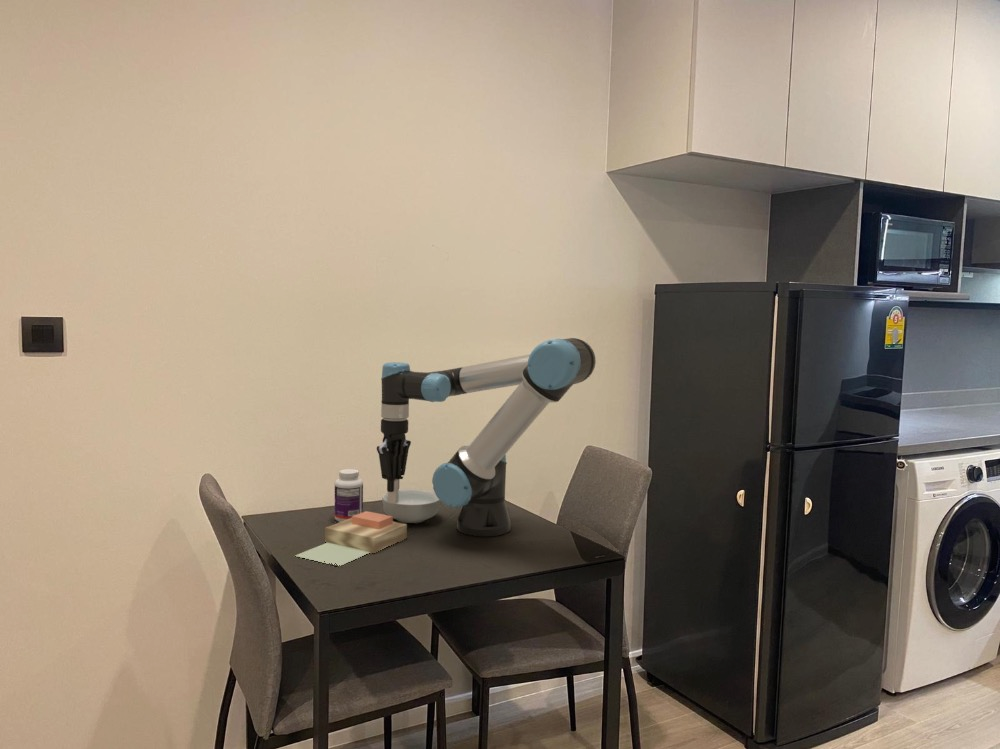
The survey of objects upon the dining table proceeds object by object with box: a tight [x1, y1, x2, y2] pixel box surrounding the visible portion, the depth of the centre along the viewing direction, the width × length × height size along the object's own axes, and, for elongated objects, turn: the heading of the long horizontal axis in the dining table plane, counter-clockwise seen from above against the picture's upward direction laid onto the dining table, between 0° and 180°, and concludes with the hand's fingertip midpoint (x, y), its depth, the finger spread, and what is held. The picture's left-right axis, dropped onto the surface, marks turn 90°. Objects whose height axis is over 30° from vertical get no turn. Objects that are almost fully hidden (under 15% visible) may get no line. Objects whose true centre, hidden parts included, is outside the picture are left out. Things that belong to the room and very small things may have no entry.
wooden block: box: [324, 518, 408, 554], centre depth 191 cm, size 16×14×4 cm
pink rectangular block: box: [352, 510, 394, 529], centre depth 193 cm, size 9×6×2 cm, turn 62°
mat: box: [294, 542, 372, 566], centre depth 180 cm, size 14×12×1 cm
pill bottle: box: [334, 468, 364, 523], centre depth 209 cm, size 8×8×14 cm
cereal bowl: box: [381, 488, 442, 524], centre depth 211 cm, size 17×17×7 cm
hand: (392, 502), depth 202 cm, fingers closed
